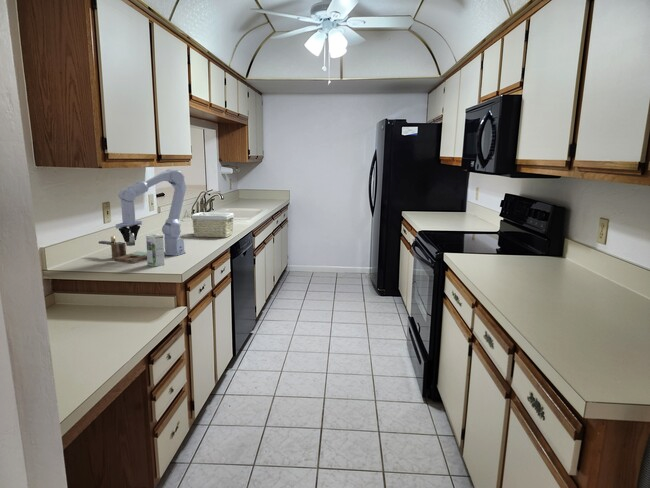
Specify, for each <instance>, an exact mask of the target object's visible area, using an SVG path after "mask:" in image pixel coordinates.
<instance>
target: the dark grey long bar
mask: <svg viewBox="0 0 650 488" xmlns="http://www.w3.org/2000/svg"><path fill="white" fill-rule="evenodd" d="M112 243H113V244H119V246H122V245H124V243H125V242H123V243H118V242H117V241H116V236H114V235H113V236H110V241H107V240H100V241H98V244H99V245H100V244H101V245H108V246H111V244H112Z"/></svg>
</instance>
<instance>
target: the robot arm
mask: <svg viewBox="0 0 650 488" xmlns="http://www.w3.org/2000/svg"><path fill="white" fill-rule="evenodd" d="M162 182H168V183H169V184H170V185H171V186H172V188H174V190H173V196H172V198H171V199H172V201H171V205H170V210H169V213H168V218H167V219H166V220H165V223H164V225H162V228H161V231H162V233H163V240H164V256H165V255H166V256H167V255H168V256H174V257H177V256H180V255H183V254H186V251H185V241H184V239H183V238H182V237H180V236H181V232H182V229H181V222H180V216H181V212H182V208H183V203H184V199H185V194H186V191H187V186H186V182H185V175H184V174H183V172H182V171H181V170H178V169H167V170H164V171H162V172H160V173H158V174H156V175H155V176H153V177H151V178H149V179H147V180H146V181H142V180H141V181H140V180H137V181H136V182H135V183H134V184H132V185H128V186H127V188H122V189H121V190H120V191H119V194H118V198H119V199H120V204H121V206H120V207H121V216H122V217H121V218H122V222H120V223H116V224H115V229H118V230H119V233H121V236H122V238H123V241H124V243H126V242H129V232H133V233H134V236H135V241H136V240H137V237H138V233H139V230H140V229H141V226H142V225H143V221H142V220H136V210H135V209H136V208H135V200H136V198H137V197H139V196H141V195H143V194H145V193H146V192H148V191H149V188H151V187H154V186H155V185H157V184H159V183H162Z"/></svg>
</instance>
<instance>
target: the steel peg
mask: <svg viewBox="0 0 650 488" xmlns="http://www.w3.org/2000/svg"><path fill="white" fill-rule="evenodd" d="M125 245H126V247H132V246H136V240H135V236H134V233H133V232H129V242H125Z"/></svg>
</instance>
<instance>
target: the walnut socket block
mask: <svg viewBox="0 0 650 488" xmlns="http://www.w3.org/2000/svg"><path fill="white" fill-rule="evenodd" d="M118 243H124V245H122V246H119V244H113V243H112V244H111V245H110V246H111V247H110V248H111V249H110V250H111V258H112V260H114V261H116V262H124V263H130V264H134V263H138V262H141V261H145V260H147V255H145V256H142V255H135V254H130V253H127V246H126V242H122V241H119V242H118ZM126 254H128V255H126Z"/></svg>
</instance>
